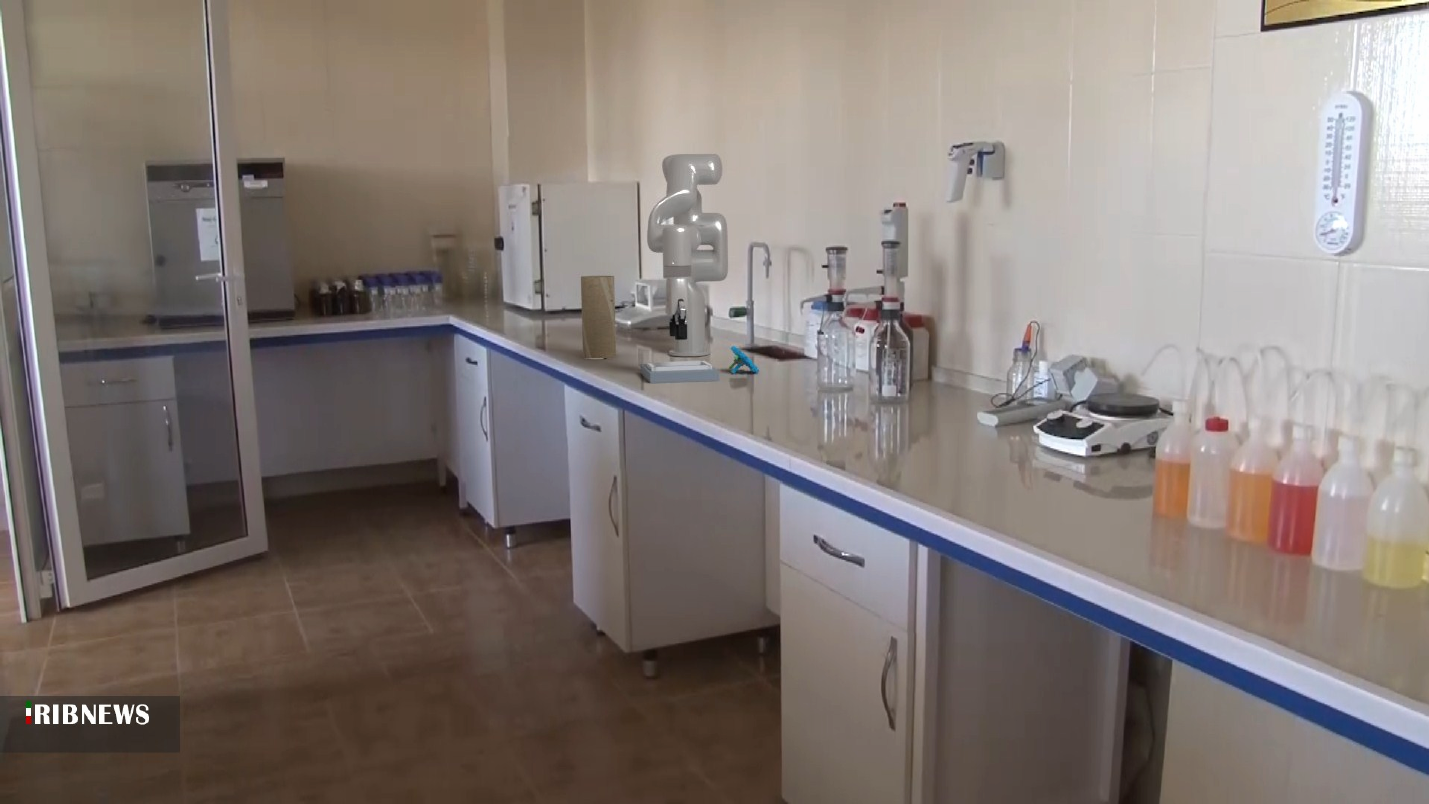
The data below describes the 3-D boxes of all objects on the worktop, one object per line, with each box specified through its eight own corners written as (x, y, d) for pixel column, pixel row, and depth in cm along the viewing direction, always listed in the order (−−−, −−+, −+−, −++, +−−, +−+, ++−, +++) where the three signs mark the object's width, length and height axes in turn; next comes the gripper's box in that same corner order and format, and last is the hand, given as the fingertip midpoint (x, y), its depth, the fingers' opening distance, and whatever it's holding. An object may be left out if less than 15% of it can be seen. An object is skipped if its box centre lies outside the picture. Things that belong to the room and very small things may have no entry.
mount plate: (640, 373, 315) (640, 360, 314) (705, 371, 318) (705, 358, 318) (650, 383, 296) (650, 369, 295) (719, 380, 299) (719, 367, 298)
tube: (618, 357, 354) (616, 275, 350) (612, 361, 344) (610, 277, 340) (586, 357, 355) (584, 275, 351) (579, 360, 345) (577, 277, 341)
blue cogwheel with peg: (765, 371, 308) (740, 345, 305) (750, 387, 307) (725, 361, 304) (752, 367, 318) (729, 341, 315) (738, 382, 318) (714, 357, 315)
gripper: (658, 271, 310) (659, 335, 313) (668, 274, 294) (669, 341, 296) (686, 271, 312) (686, 334, 314) (697, 273, 295) (697, 340, 298)
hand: (678, 337), depth 305 cm, fingers open, 9 cm apart
